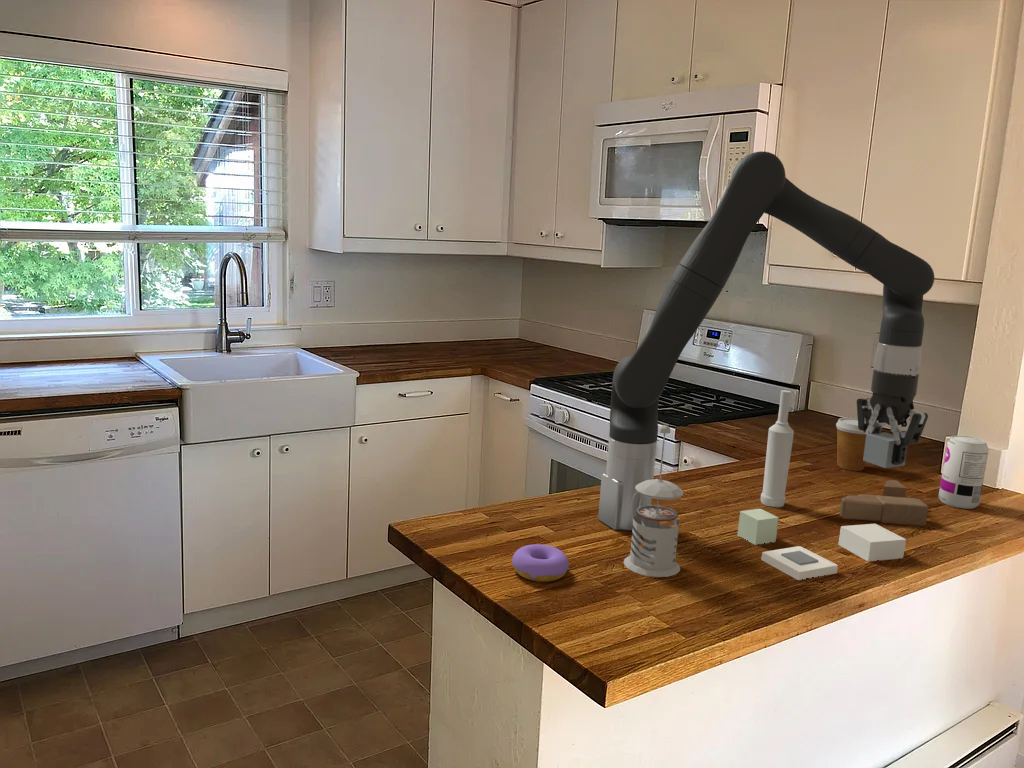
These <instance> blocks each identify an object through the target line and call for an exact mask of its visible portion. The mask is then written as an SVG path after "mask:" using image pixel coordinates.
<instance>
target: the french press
mask: <svg viewBox="0 0 1024 768" xmlns="http://www.w3.org/2000/svg"><path fill="white" fill-rule="evenodd" d="M658 433H661V434H663V439H662V449H661V450H662V451H661V458H660V460H661V461H660V469H659V470H660V471H659V479H658V478H655V479H654V478H653V480H646V481H644V482H641V483H639V484H638V485H636V487H635V489H636V490H637V492H636V493H635V494H634V496H633V498H632V505H631V514H632V520H633V529H632V530H631V531H632V535H631V542H630V546H631V547H630V552H629V553H630V554H629V555H628V556H627V557H626V558H624V560H623V565H624V566H625V568H627V569H628V570H630V571H631V572H633V573H636V574H639V575H642V576H646V577H653V578H664V577H665V578H667V577H671V576H676V575H677V574H678V573H679V572H681V565H679V563H678V562H677V561H676V557H677V546H678V537H679V529H680V527H679V526H680V525H679V524H680V523H679V522H680V521H678V519H677V518H678V516H679V514H678V512H677V511H676V510H675V509H672V508H671V507H666V506H663V505H659V501H660V500H662V501H663V500H664V501H671V500H672V501H673V500H677V499H679V498H682V496H683V495H684V491H683V490H682V489H681V487H679V486H678V485H677V484H676V483H673V482H671V481H669V480H664V479H662V471H663V460H664V459H663V458H664V451H665V439H666V434H667V435H668V434H670V433H671V428H670V427H669V425H665V424H664V425H661V426H660V427H658ZM638 492H639V493H640V494H641V498H640V503H639V507H638V508H637V509H636V513H637V515H635V516H634V519H633V500H634V497H635V495H636V494H637V493H638ZM643 495H644V496H646V497H643ZM648 497H650V498H652V499H653V500H656V504H651V505H643V506H641V499H642V498H648ZM642 517H643V518H645V525H644V523H643V521H642ZM641 522H642V525H641ZM662 522H663V523H664V522H665V523H666V522H669V523H671V524H672V525H674V527H673V526H671V525H669V524H660V523H662ZM641 537H642V538H643V539H641ZM641 545H642V546H641Z"/></svg>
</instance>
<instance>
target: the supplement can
mask: <svg viewBox="0 0 1024 768" xmlns="http://www.w3.org/2000/svg"><path fill="white" fill-rule="evenodd" d="M989 452H990V449H989V447H988V444H987V441H986V440H984V439H982V438H979V437H975V436H968V435H951V438H950V439H949V440H948V441H947V442H946V449H945V454H944V462H943V466H942V472H941V478H940V483H939V485H940V486H939V492H938V496H937V497H938V499H939V500H940V502H941V503H942V504H943V505H947V506H950V507H953V508H958V509H965V510H966V509H967V510H972V509H975V508H977V507H978V506H980V504H981V497H982V490H983V485H984V480H985V473H986V470H987V463H988V456H989Z"/></svg>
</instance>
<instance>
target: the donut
mask: <svg viewBox="0 0 1024 768" xmlns="http://www.w3.org/2000/svg"><path fill="white" fill-rule="evenodd" d="M511 564H512V567H513V568H514V570H515V573H517V574H518V575H519V576H521V577H522V578H524V579H527V580H529V581H532V582H539V583H548V582H554V581H557V580H560V579H561V578H562V577H564V576H565V575H566V573H567V572H568V570H569V567H570V565H569V559H568V556H567V555H566V554H565V553H564V551H562V550H561V549H559V548H557V547H554V546H551V545H548V544H547V545H546V544H540V543H536V544H528V545H524V546H521V547H519V548H518V549H517V550H515V552H514V554H513V556H512V559H511Z"/></svg>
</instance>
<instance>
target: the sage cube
mask: <svg viewBox="0 0 1024 768" xmlns="http://www.w3.org/2000/svg"><path fill="white" fill-rule="evenodd" d="M778 525H779V517H778V516H776V515H775V514H772V513H771V512H768V511H766V510H764V509H762V508H755V509H747V510H741V511H739V519H738V529H737V536H738V537H739V536H740V537H739V538H741V537H742V539H743V538H744V540H745V539H746V540H745V541H747V540H748V541H747V542H749V543H751V544H753V545H755V546H759V545H764V543H765V544H771V543H770V542H772V543H776V540H777V535H778V534H777V532H778ZM758 544H759V545H758Z"/></svg>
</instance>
